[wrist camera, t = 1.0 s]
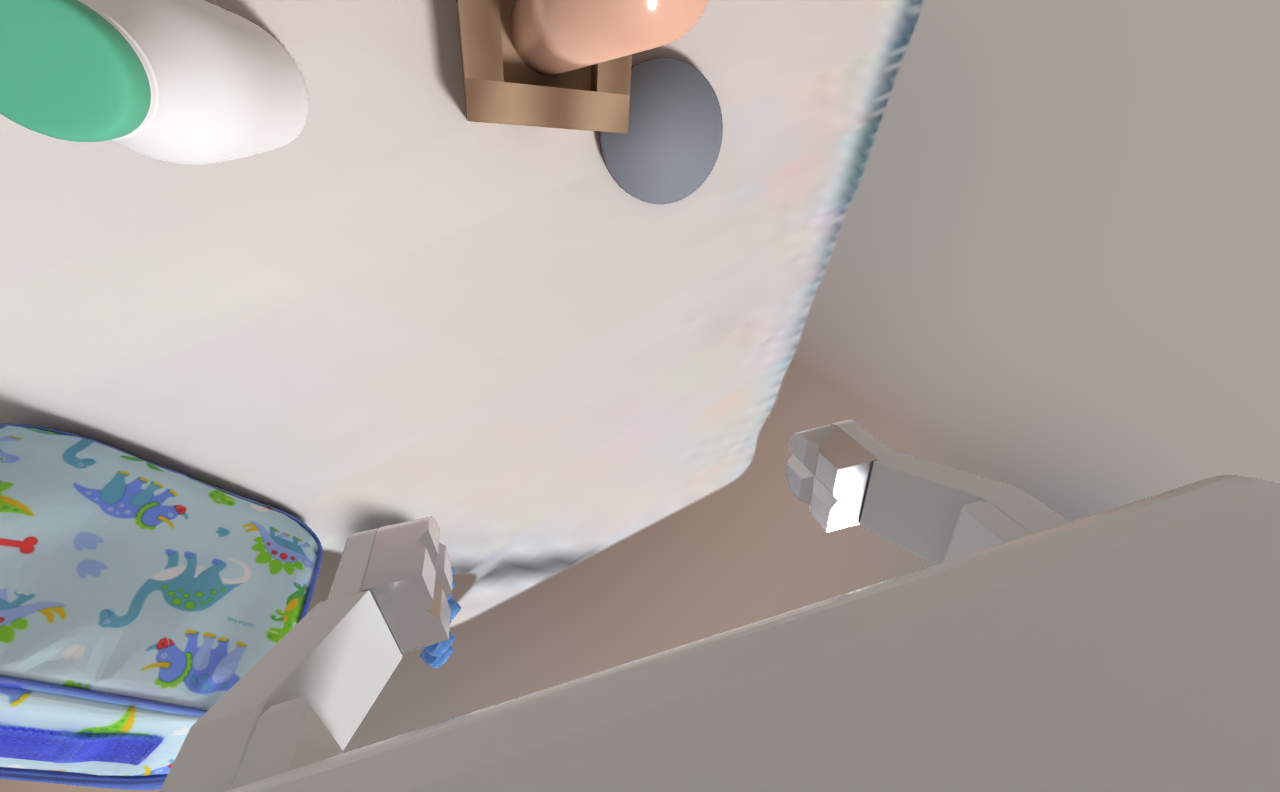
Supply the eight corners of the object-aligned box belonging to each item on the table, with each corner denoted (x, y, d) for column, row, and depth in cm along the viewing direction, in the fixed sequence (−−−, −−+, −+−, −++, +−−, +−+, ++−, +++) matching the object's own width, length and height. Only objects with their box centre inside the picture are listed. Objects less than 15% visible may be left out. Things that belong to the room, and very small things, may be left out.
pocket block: (467, 120, 37) (468, 121, 35) (448, -95, 31) (448, -111, 29) (616, 131, 41) (627, 133, 38) (625, -57, 35) (638, -69, 32)
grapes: (397, 535, 53) (387, 630, 44) (462, 530, 56) (466, 619, 46) (398, 606, 59) (389, 706, 49) (457, 599, 61) (460, 692, 52)
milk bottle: (304, 31, 32) (159, -46, 16) (317, 159, 35) (209, 206, 19) (150, -7, 29) (-226, -151, 13) (181, 137, 32) (-84, 170, 16)
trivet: (577, 96, 39) (580, 96, 38) (695, 33, 39) (700, 32, 38) (630, 223, 45) (633, 225, 44) (731, 168, 46) (736, 169, 45)
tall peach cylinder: (495, 6, 33) (553, -107, 16) (560, -28, 34) (691, -176, 16) (533, 88, 37) (617, 71, 19) (592, 56, 37) (732, 10, 19)
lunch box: (-82, 485, 37) (-530, 808, 20) (-7, 387, 35) (-420, 645, 18) (278, 588, 52) (198, 822, 35) (341, 521, 50) (289, 732, 33)
